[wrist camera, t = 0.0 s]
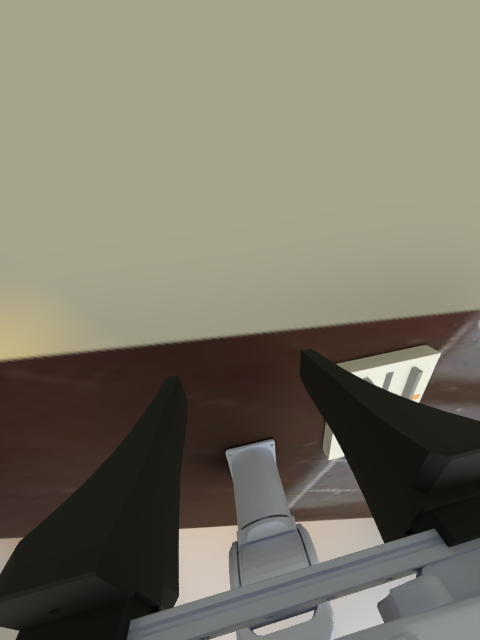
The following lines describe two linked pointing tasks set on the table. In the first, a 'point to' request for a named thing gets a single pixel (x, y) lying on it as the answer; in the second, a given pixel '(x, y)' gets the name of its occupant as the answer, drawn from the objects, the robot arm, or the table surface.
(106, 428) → the table surface
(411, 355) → the console
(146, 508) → the robot arm
